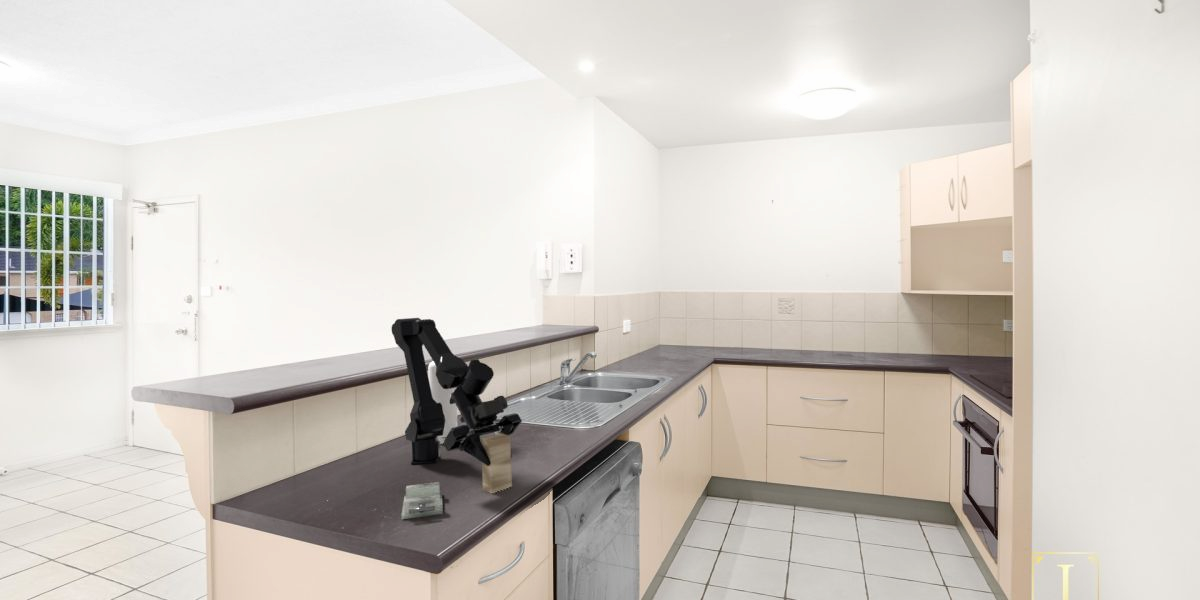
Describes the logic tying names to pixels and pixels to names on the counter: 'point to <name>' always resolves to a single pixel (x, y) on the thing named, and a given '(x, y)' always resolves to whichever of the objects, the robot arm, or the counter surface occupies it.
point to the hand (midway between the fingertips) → (500, 461)
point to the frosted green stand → (422, 500)
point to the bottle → (443, 401)
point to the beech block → (497, 463)
